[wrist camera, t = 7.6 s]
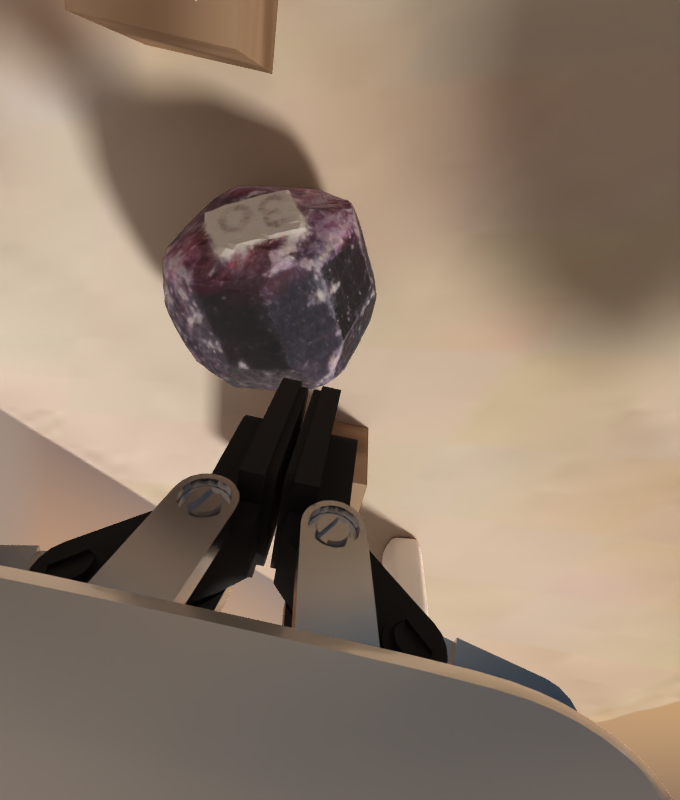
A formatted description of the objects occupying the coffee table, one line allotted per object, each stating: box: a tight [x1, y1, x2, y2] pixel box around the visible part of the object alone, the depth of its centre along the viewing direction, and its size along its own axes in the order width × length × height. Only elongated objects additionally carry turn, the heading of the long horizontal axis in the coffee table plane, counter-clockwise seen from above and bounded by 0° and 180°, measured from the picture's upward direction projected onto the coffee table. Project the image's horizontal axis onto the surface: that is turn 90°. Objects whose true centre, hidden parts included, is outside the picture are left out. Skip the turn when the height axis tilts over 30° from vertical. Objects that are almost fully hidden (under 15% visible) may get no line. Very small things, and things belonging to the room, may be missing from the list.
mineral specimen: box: [163, 186, 376, 390], centre depth 21 cm, size 10×10×10 cm
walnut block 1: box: [274, 415, 368, 535], centre depth 29 cm, size 6×6×6 cm
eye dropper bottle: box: [382, 538, 429, 617], centre depth 32 cm, size 4×6×12 cm
